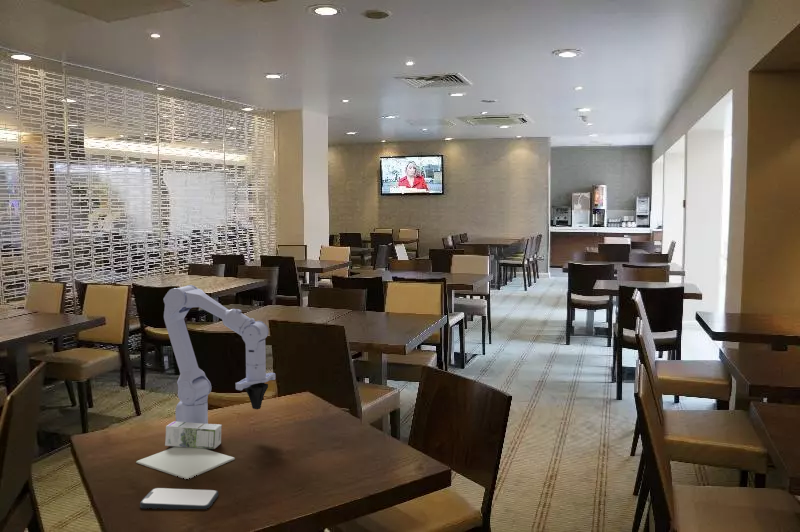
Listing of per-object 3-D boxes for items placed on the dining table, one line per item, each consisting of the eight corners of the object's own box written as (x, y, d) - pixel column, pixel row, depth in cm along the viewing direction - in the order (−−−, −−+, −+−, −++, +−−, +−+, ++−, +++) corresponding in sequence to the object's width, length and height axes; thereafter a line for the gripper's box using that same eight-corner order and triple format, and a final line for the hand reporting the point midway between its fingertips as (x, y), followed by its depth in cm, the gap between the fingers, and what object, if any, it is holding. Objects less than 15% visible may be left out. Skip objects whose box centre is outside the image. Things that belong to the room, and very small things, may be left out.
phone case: (219, 496, 159) (153, 493, 160) (219, 489, 159) (153, 486, 159) (208, 513, 150) (138, 510, 151) (208, 506, 150) (137, 503, 151)
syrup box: (222, 424, 192) (173, 420, 193) (215, 429, 186) (164, 426, 187) (221, 443, 192) (172, 440, 193) (214, 449, 186) (163, 446, 187)
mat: (136, 462, 177) (136, 461, 177) (184, 444, 191) (184, 443, 191) (187, 479, 167) (187, 477, 167) (234, 459, 180) (234, 457, 180)
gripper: (247, 370, 188) (248, 417, 189) (282, 360, 200) (283, 404, 202) (230, 366, 192) (230, 413, 193) (265, 357, 204) (266, 400, 205)
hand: (256, 408), depth 198 cm, fingers closed
